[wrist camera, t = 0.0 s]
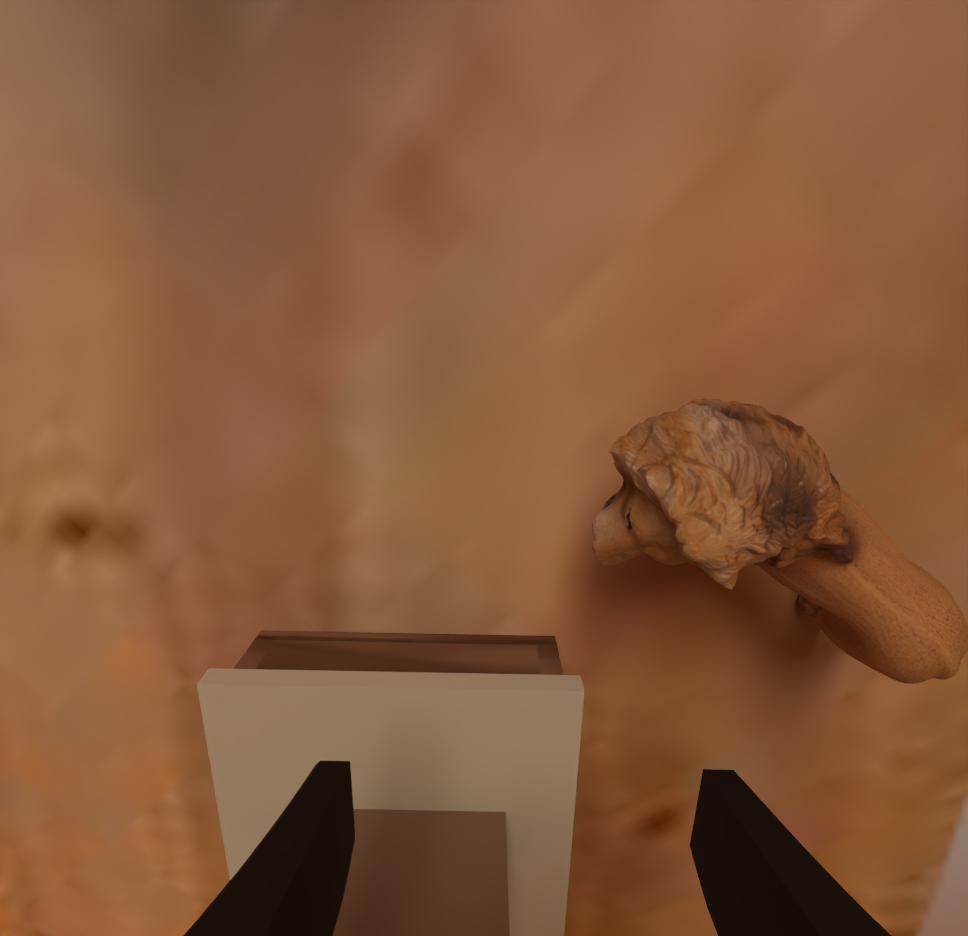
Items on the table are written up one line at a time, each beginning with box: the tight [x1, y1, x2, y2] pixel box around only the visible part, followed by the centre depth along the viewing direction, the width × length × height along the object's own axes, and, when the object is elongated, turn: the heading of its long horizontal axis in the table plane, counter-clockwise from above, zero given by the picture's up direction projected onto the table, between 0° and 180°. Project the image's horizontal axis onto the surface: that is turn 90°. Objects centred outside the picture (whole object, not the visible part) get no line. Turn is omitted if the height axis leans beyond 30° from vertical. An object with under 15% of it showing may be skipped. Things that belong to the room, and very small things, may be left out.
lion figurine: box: [592, 399, 968, 683], centre depth 15 cm, size 15×5×9 cm, turn 61°
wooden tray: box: [234, 631, 563, 675], centre depth 21 cm, size 12×12×3 cm
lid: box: [197, 668, 585, 936], centre depth 18 cm, size 13×13×5 cm
